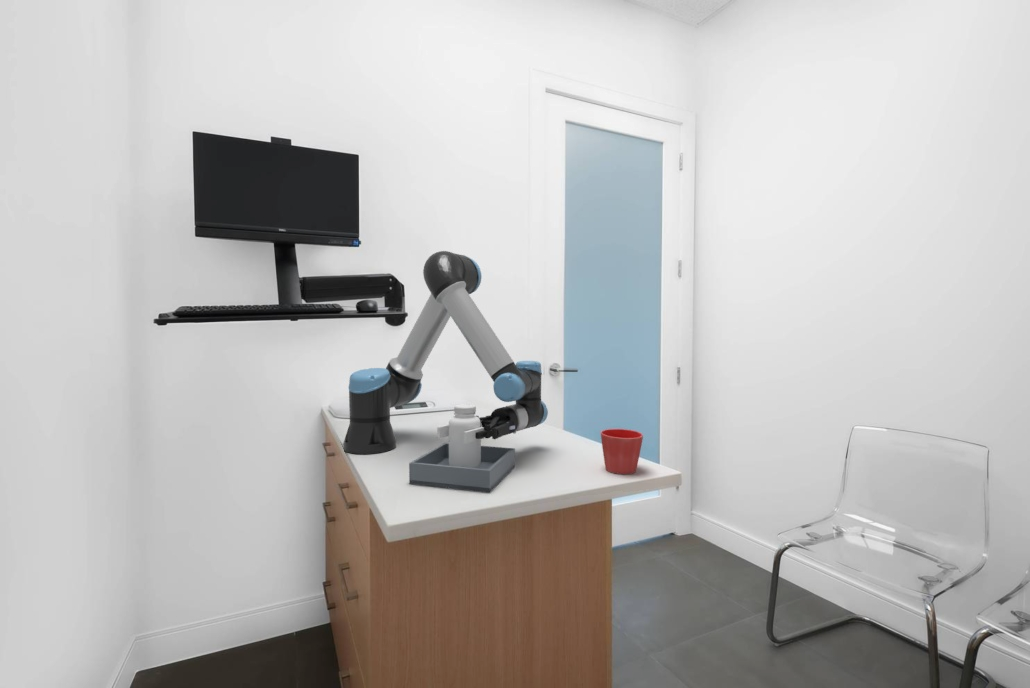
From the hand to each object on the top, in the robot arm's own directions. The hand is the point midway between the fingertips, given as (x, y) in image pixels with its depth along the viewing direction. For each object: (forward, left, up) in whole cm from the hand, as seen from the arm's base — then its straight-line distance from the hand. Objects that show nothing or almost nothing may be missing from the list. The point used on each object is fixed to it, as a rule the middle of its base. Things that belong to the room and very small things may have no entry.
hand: (451, 435), depth 119 cm
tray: (+2, +4, -11) cm, 12 cm away
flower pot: (+39, +20, -11) cm, 45 cm away
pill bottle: (+2, +4, -9) cm, 10 cm away
